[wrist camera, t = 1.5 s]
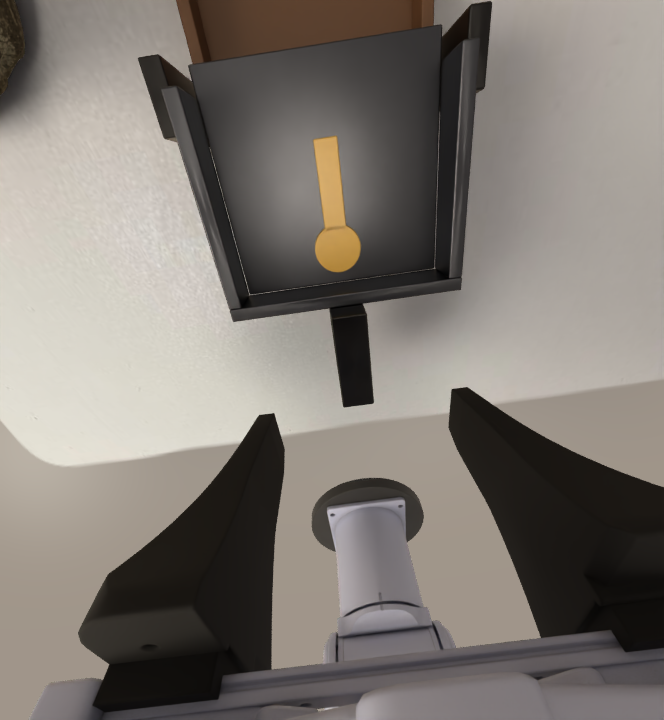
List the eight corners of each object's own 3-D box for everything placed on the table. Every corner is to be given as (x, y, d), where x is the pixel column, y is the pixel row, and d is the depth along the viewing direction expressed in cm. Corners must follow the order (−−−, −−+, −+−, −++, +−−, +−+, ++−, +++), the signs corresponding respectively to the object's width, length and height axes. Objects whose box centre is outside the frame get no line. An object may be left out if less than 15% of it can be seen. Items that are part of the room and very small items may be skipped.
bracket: (445, 110, 16) (485, 89, 12) (198, 149, 16) (163, 138, 12) (448, 45, 14) (493, -1, 11) (180, 88, 15) (136, 56, 11)
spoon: (361, 267, 16) (362, 268, 15) (318, 273, 16) (318, 275, 15) (350, 134, 13) (351, 133, 13) (298, 142, 13) (298, 141, 13)
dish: (438, 356, 19) (463, 392, 16) (265, 379, 19) (255, 419, 16) (452, 27, 12) (504, -31, 9) (177, 71, 12) (127, 30, 9)
